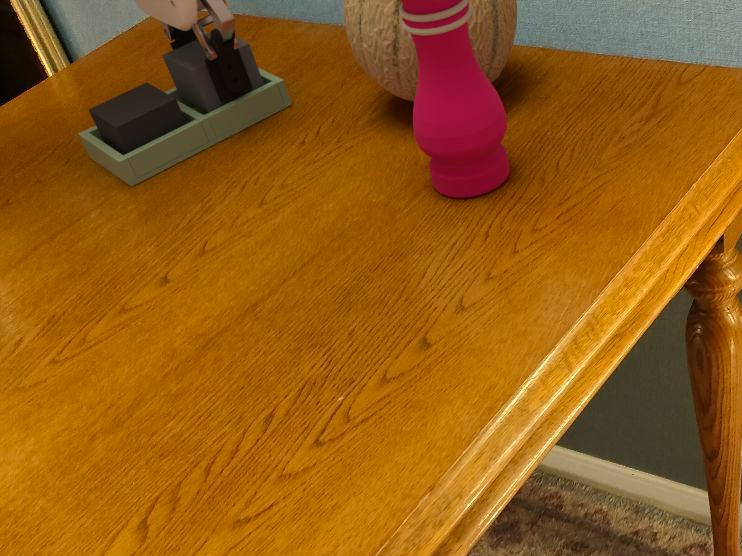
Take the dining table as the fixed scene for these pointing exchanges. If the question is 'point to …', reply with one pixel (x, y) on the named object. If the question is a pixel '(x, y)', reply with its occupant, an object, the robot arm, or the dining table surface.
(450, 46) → the pepper mill
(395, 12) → the cantaloupe
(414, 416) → the dining table surface
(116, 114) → the dark grey block
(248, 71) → the grey square block
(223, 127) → the holder
